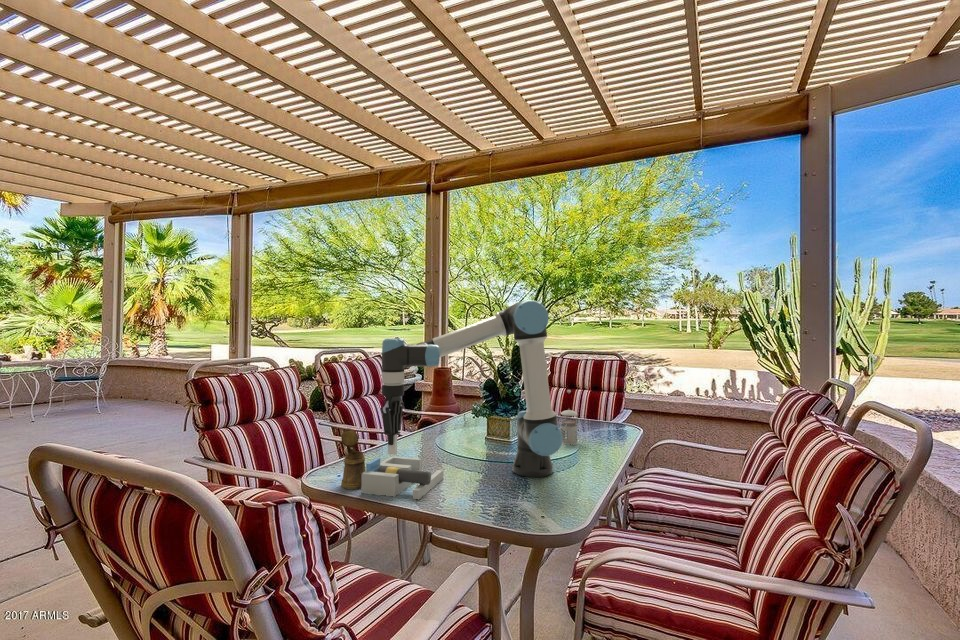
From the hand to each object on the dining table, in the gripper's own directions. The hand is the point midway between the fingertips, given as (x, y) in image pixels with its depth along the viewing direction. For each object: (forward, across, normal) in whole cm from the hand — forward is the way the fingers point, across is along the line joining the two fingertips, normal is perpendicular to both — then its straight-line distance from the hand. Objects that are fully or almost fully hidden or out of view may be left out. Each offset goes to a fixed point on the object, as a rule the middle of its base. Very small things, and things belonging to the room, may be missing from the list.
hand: (392, 453), depth 161 cm
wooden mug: (+12, -2, -16) cm, 20 cm away
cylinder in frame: (+12, -5, +2) cm, 13 cm away
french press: (+12, -84, +50) cm, 98 cm away
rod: (+9, 0, +4) cm, 10 cm away
